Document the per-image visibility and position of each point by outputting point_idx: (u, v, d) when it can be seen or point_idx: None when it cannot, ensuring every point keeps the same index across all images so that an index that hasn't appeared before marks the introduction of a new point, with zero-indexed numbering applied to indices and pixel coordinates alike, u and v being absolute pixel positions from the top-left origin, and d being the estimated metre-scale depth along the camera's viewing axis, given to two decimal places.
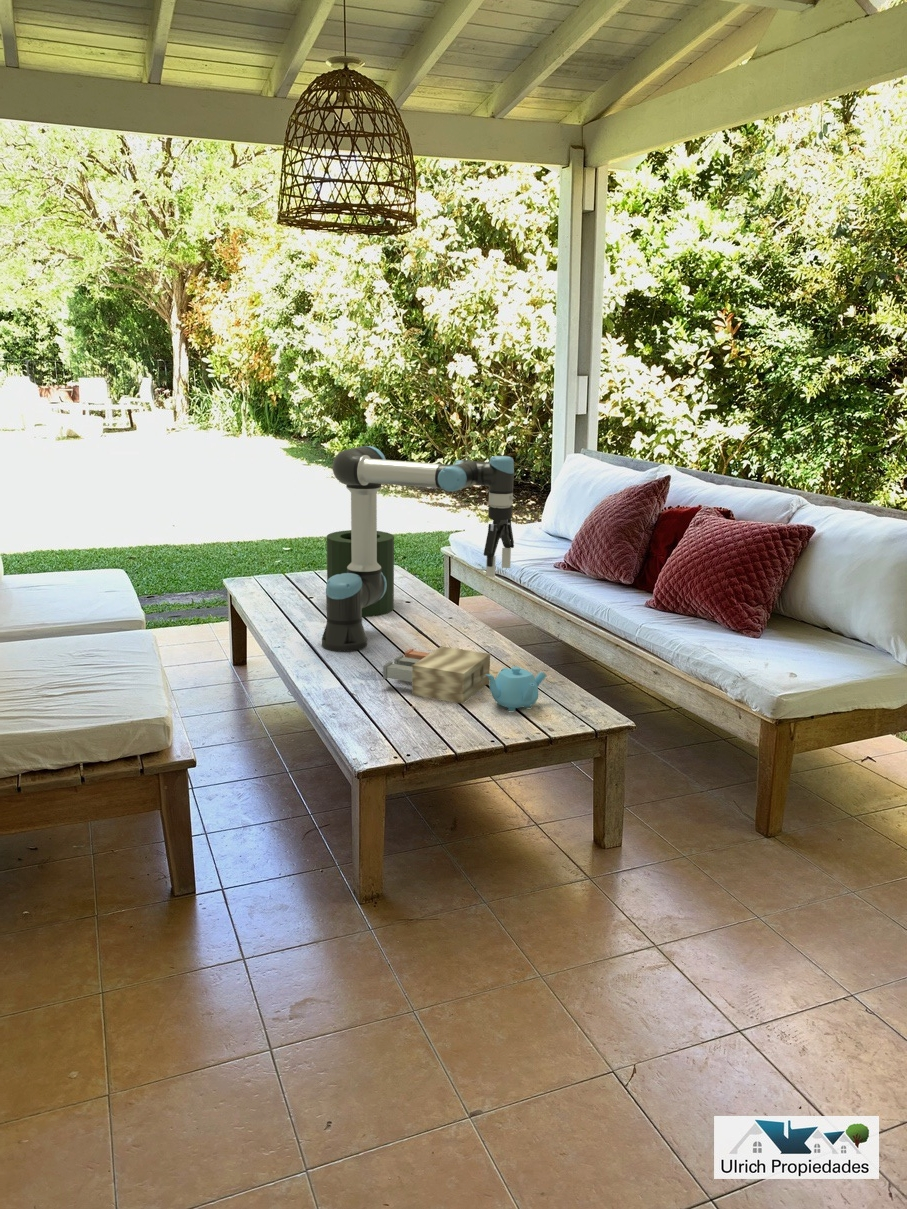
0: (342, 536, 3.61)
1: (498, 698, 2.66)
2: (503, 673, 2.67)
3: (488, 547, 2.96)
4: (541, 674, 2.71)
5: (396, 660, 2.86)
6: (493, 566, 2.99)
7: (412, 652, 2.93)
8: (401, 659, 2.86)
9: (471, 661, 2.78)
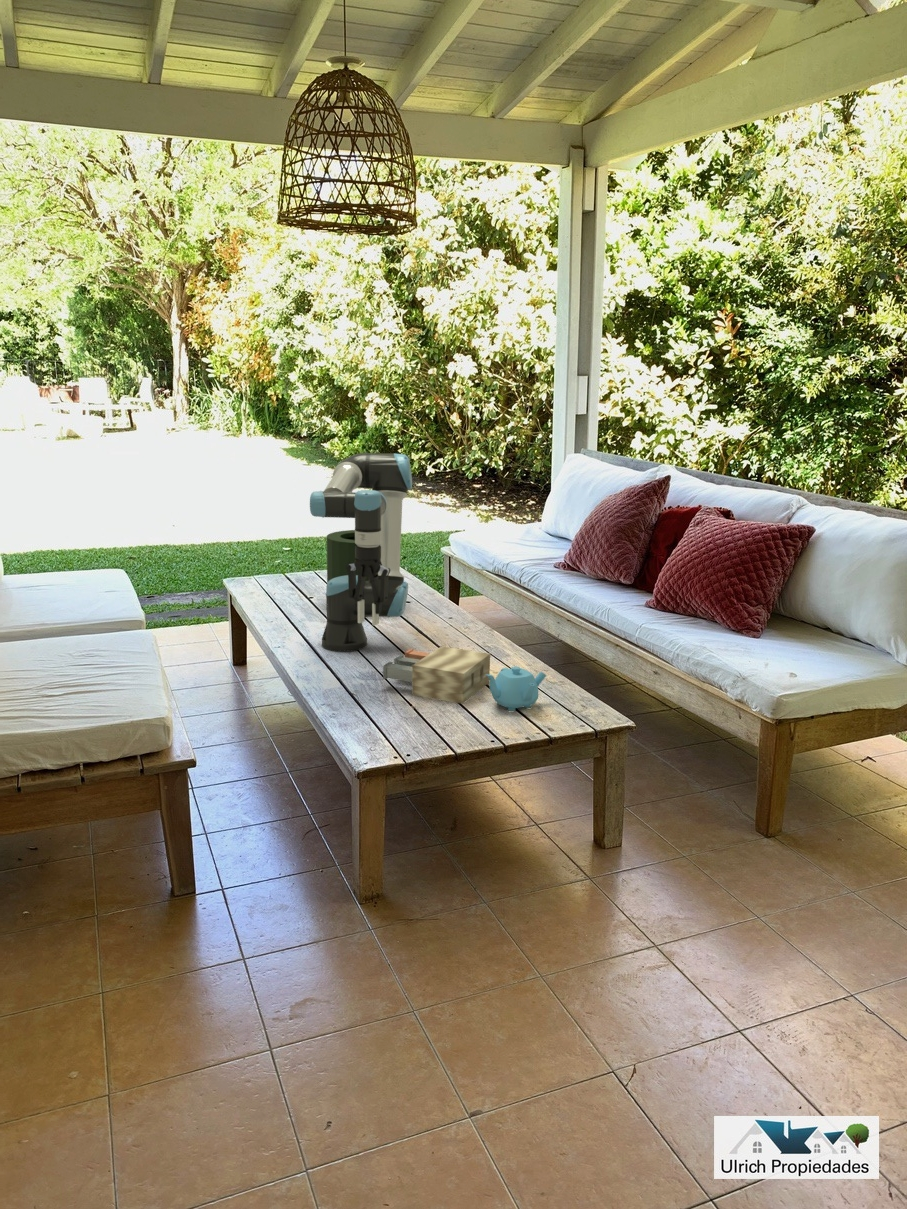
0: (342, 536, 3.61)
1: (498, 698, 2.66)
2: (502, 673, 2.67)
3: None
4: (541, 674, 2.71)
5: (396, 660, 2.86)
6: None
7: (412, 652, 2.93)
8: (401, 659, 2.86)
9: (471, 661, 2.78)
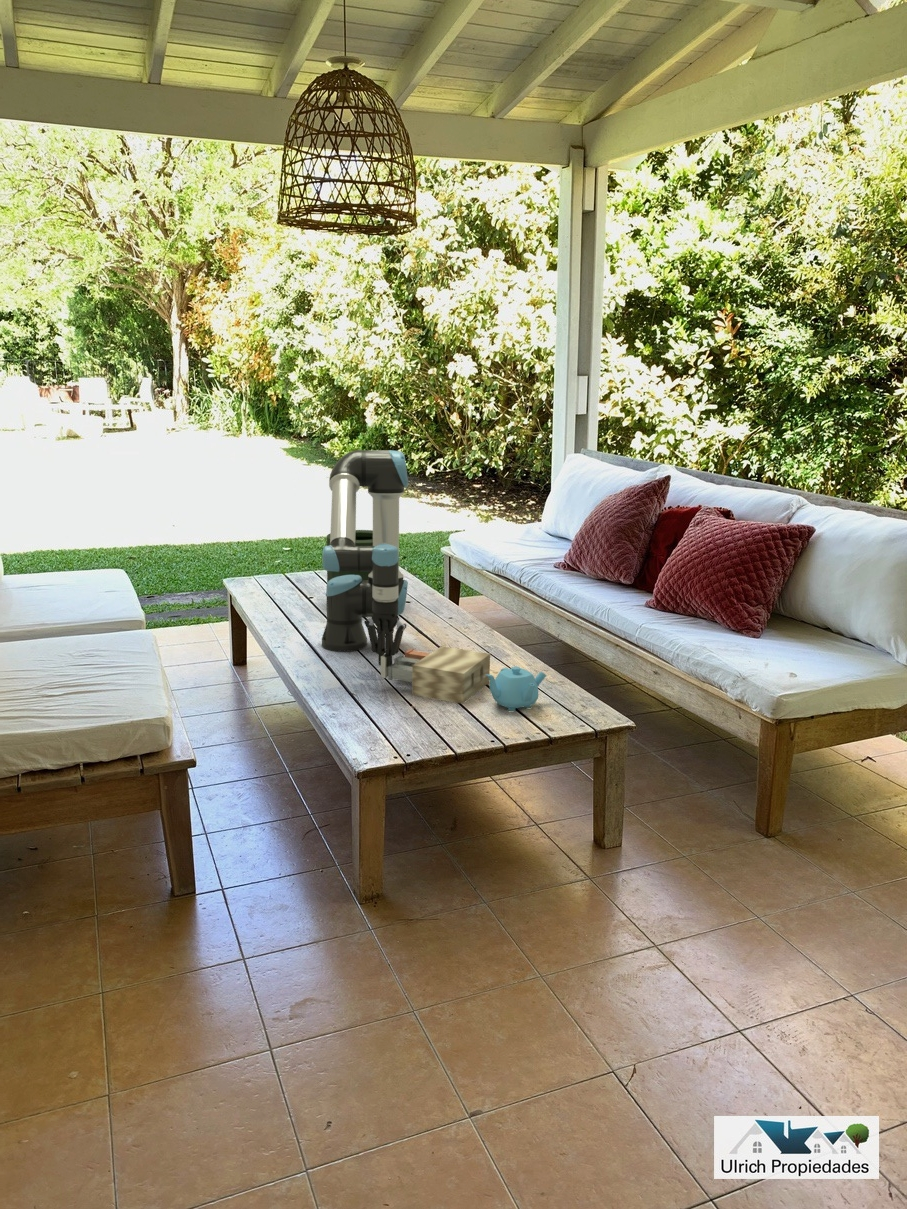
0: None
1: (498, 698, 2.66)
2: (502, 673, 2.67)
3: None
4: (541, 674, 2.71)
5: (396, 660, 2.86)
6: None
7: (412, 652, 2.93)
8: (401, 659, 2.86)
9: (471, 661, 2.78)
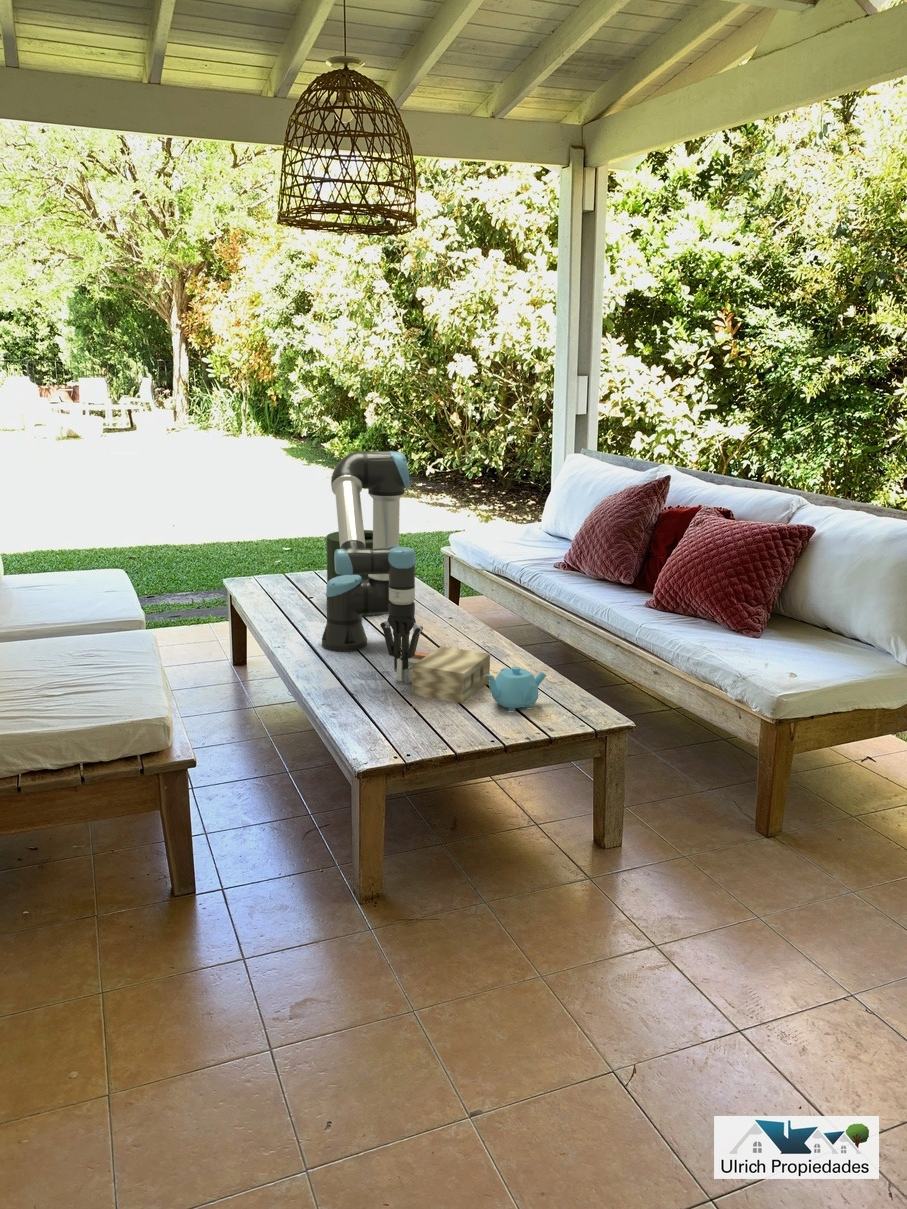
0: None
1: (498, 698, 2.66)
2: (503, 673, 2.67)
3: None
4: (541, 674, 2.71)
5: None
6: None
7: None
8: None
9: (471, 661, 2.78)
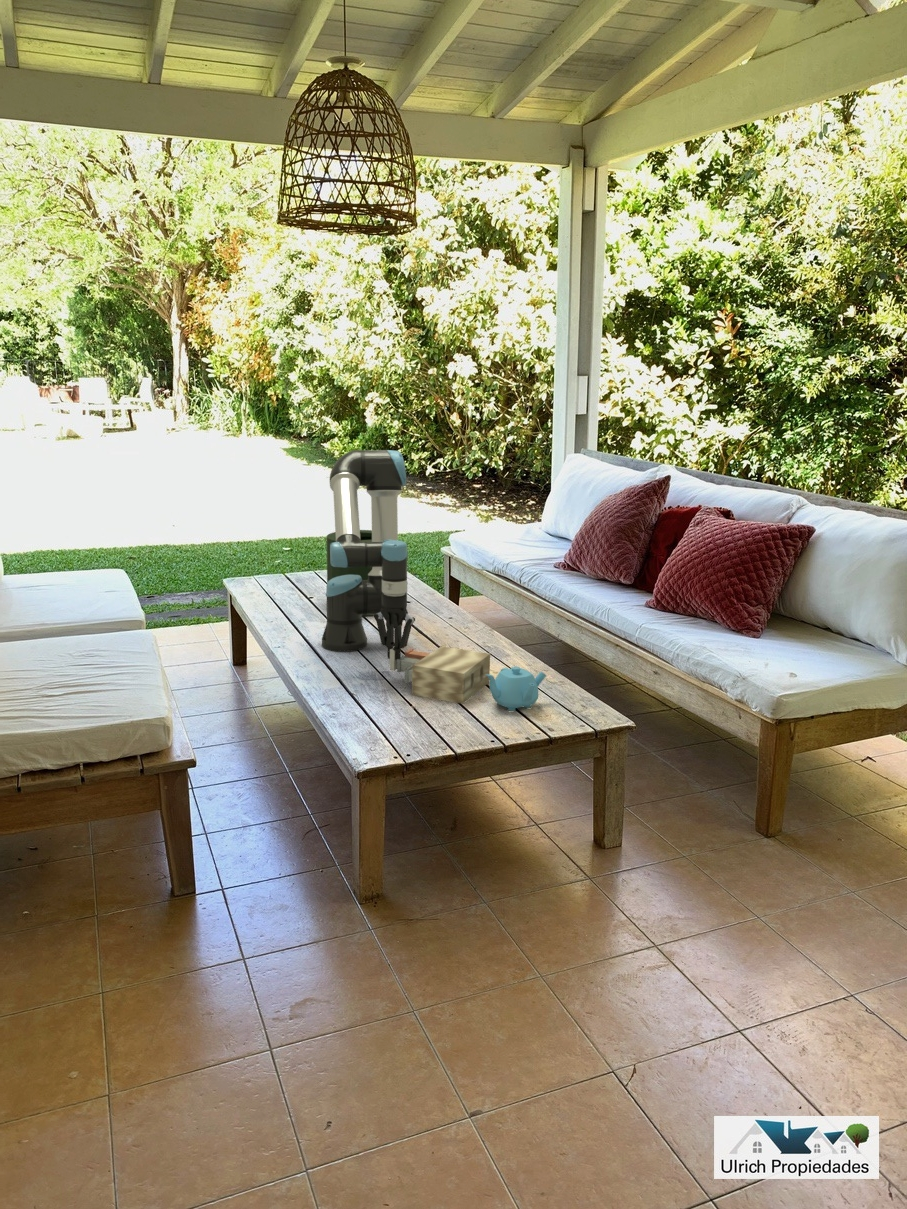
0: None
1: (498, 698, 2.66)
2: (502, 673, 2.67)
3: None
4: (541, 674, 2.71)
5: (399, 660, 2.85)
6: None
7: (412, 652, 2.93)
8: (404, 659, 2.86)
9: (471, 661, 2.78)
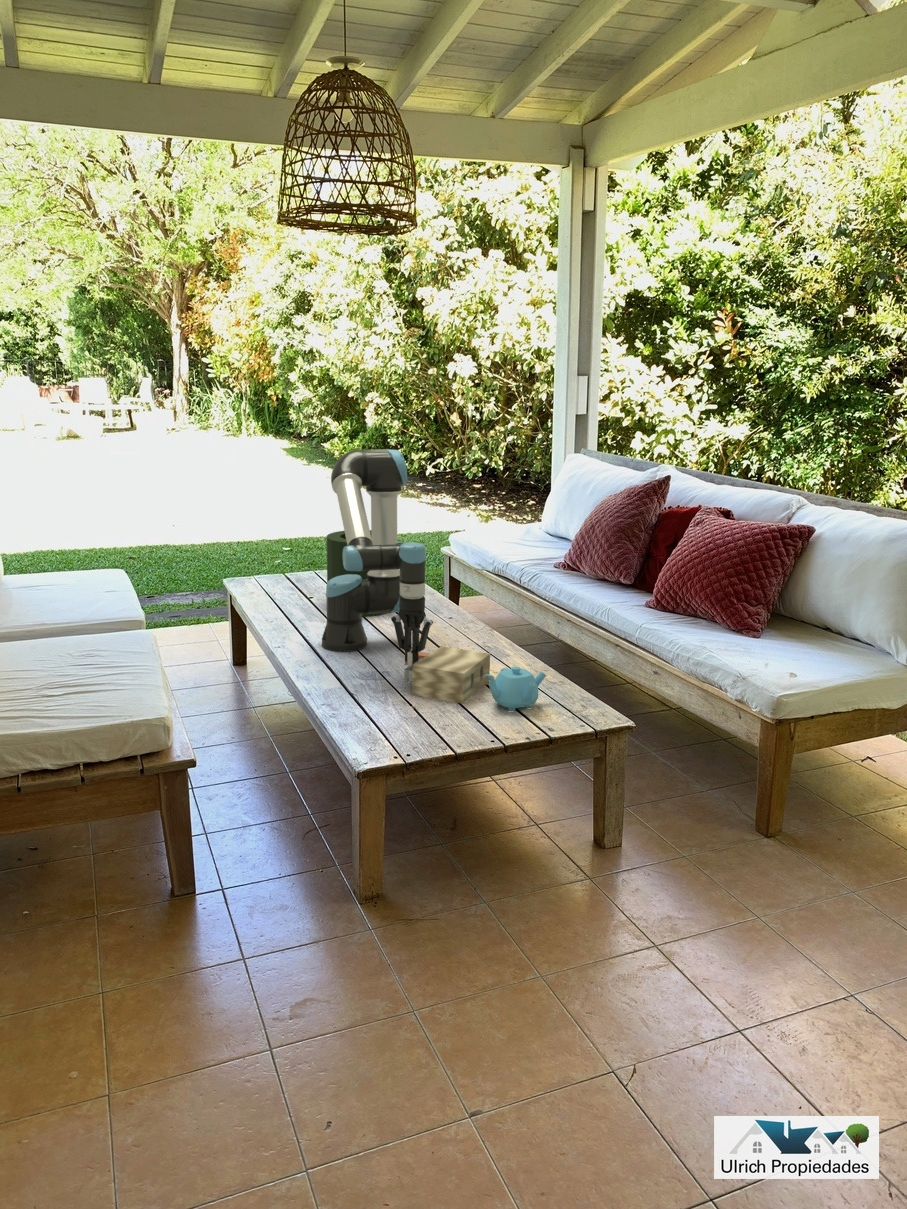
0: (342, 536, 3.61)
1: (498, 698, 2.66)
2: (502, 673, 2.67)
3: None
4: (541, 674, 2.71)
5: None
6: None
7: None
8: None
9: (471, 661, 2.78)
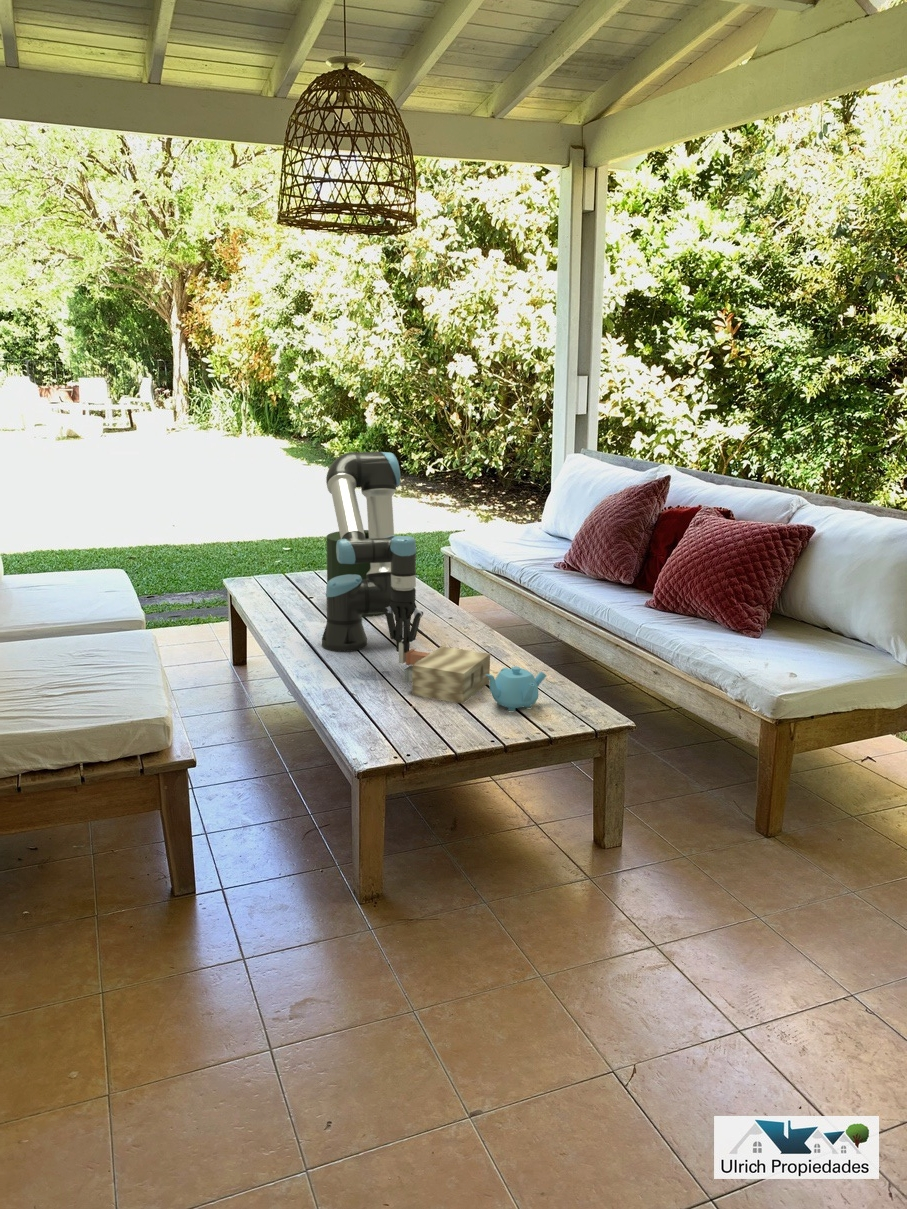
0: None
1: (498, 698, 2.66)
2: (503, 673, 2.67)
3: None
4: (541, 674, 2.71)
5: None
6: None
7: (413, 652, 2.93)
8: None
9: (471, 661, 2.78)
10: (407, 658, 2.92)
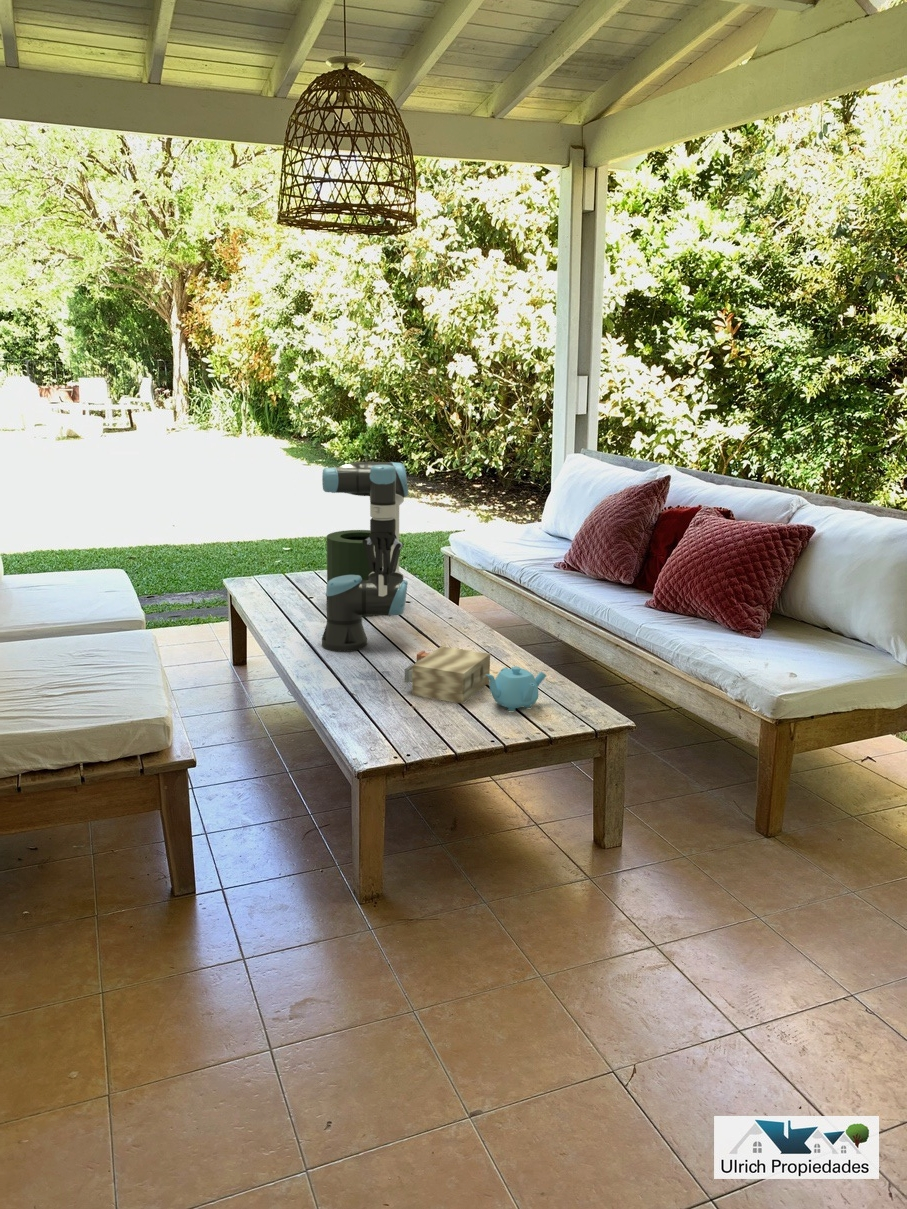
0: (342, 536, 3.61)
1: (498, 698, 2.66)
2: (503, 673, 2.67)
3: None
4: (541, 674, 2.71)
5: None
6: None
7: (424, 654, 2.91)
8: None
9: (471, 661, 2.78)
10: None
